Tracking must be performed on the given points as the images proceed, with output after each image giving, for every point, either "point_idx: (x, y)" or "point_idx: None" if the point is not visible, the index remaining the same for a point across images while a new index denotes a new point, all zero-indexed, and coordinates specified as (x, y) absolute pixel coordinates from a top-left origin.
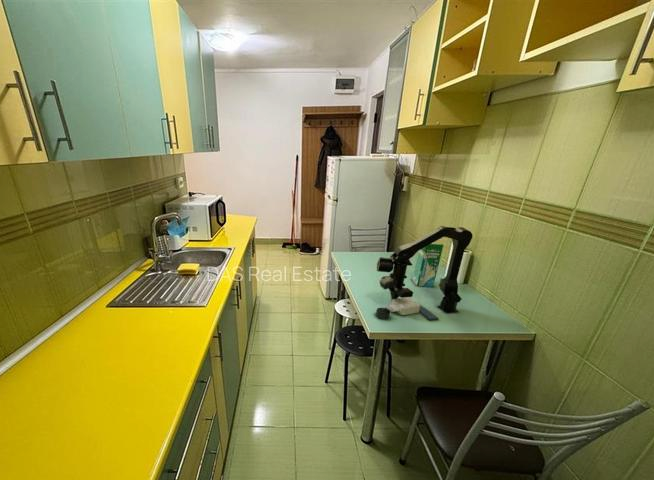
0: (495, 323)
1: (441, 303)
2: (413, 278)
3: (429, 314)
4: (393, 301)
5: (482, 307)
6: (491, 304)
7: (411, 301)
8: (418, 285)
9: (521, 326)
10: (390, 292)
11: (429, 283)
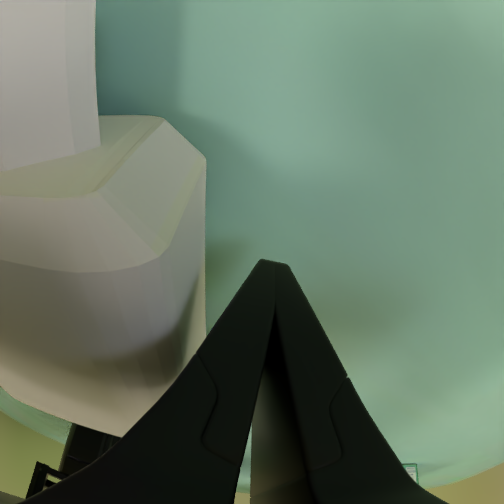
0: (22, 413)
1: (94, 448)
2: (410, 475)
3: None
4: (27, 202)
5: None
6: None
7: (41, 398)
8: None
9: (23, 424)
10: (376, 442)
11: None
